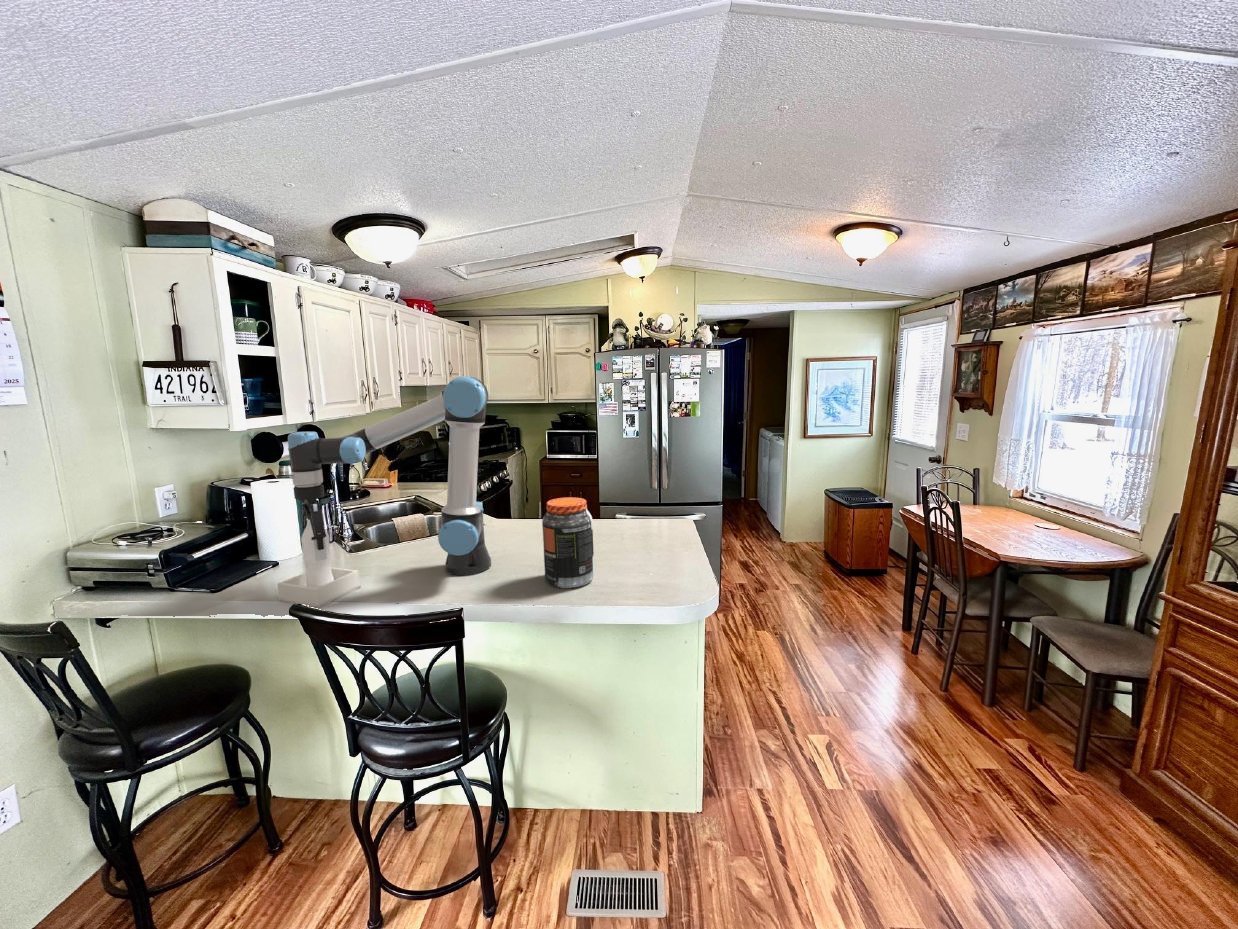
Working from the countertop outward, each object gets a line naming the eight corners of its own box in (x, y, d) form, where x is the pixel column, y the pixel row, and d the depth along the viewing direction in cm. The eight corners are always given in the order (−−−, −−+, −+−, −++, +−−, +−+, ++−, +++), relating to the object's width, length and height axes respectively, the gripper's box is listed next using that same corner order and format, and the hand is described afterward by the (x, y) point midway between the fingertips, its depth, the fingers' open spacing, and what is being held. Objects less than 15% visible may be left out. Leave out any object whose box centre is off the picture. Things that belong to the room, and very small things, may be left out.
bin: (360, 587, 157) (358, 570, 156) (318, 608, 143) (315, 589, 142) (324, 582, 161) (322, 565, 160) (279, 601, 147) (277, 583, 146)
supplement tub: (601, 574, 165) (599, 497, 160) (582, 592, 150) (580, 509, 146) (558, 568, 170) (555, 494, 166) (535, 586, 155) (532, 505, 151)
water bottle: (301, 594, 150) (292, 513, 146) (324, 585, 156) (316, 507, 153) (317, 598, 147) (308, 515, 143) (340, 589, 153) (331, 510, 150)
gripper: (286, 480, 153) (294, 547, 157) (301, 493, 135) (310, 568, 138) (314, 477, 158) (322, 541, 162) (332, 489, 140) (340, 561, 143)
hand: (316, 554), depth 150 cm, fingers open, 13 cm apart
